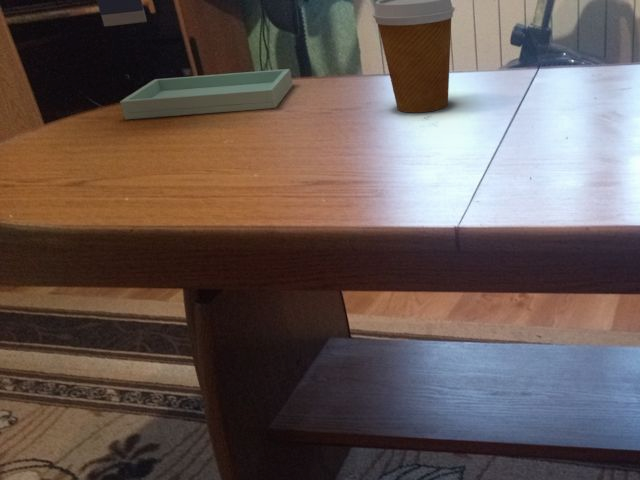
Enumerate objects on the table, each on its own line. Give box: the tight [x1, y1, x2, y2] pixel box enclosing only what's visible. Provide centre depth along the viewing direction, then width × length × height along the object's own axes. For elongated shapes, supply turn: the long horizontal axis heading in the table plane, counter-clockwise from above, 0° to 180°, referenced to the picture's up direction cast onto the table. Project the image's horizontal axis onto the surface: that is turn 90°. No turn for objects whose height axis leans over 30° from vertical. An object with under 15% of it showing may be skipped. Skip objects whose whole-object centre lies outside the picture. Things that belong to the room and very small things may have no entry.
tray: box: [119, 68, 294, 120], centre depth 100 cm, size 20×14×2 cm
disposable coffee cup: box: [372, 0, 456, 113], centre depth 87 cm, size 10×10×12 cm
